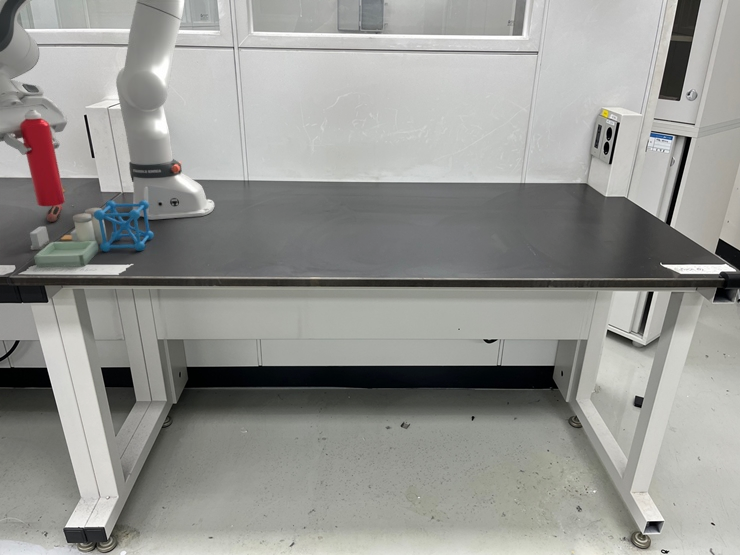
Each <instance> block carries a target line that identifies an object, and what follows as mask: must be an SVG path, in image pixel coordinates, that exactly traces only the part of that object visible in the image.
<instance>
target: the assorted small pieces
mask: <svg viewBox="0 0 740 555" xmlns="http://www.w3.org/2000/svg"><path fill="white" fill-rule="evenodd" d="M97 210H103V208H101V207H92V208H91V207H89V208H86V209H85V210H84V213H77V214H75V215H73V216H72V220H73V222H74V227H75V228H74V229H73V230H72V231H71V232H70V234H65V235H63V236H62V237H61V238H60V241H51V242H50V238H49V234H48V231H47V230H48V229H47V226H38V227H37V228H35V229H34V230H32V231H31V232H30V233H29V236H30V240H31V244H32V245H30V249H31V250H32V251H35V250H36V251H38V250H39V252H37V253H36V254H35V255H34V256H33V259H34V262H35V266H36V268H53V267H55V268H56V267H57V268H58V267H62V268H63V267H86V266H87V265H88V263H89V262H91V260H92V259H93V258H94V257H95V256H96V255H97V254H98V253H99V252H100V251H99V245H101V243H103V239H102V234H101V229H100V224H99V220H97V219H96V218H95V217H94V213H95V211H97ZM102 221H103V226H104V231H105V237H106V242H108V236H107V232H106V231H107V230H106V226H105V219H103V220H102Z"/></svg>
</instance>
